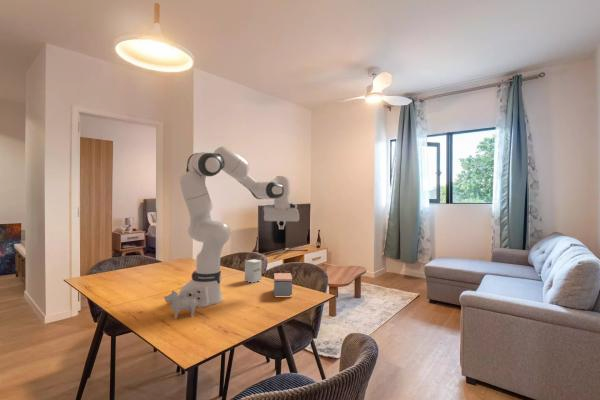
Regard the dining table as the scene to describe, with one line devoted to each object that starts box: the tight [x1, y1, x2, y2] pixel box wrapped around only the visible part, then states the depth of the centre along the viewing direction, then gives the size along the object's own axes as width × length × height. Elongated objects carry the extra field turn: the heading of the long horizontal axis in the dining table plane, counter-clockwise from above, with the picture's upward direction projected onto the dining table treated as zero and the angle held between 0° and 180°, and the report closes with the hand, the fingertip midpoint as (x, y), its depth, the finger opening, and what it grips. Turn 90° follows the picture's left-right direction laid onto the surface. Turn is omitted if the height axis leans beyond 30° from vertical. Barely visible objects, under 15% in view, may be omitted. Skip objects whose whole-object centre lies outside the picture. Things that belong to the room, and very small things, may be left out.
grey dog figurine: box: [163, 290, 197, 319], centre depth 127 cm, size 5×13×11 cm, turn 112°
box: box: [273, 280, 293, 297], centre depth 160 cm, size 9×13×8 cm
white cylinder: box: [244, 258, 263, 284], centre depth 182 cm, size 7×7×13 cm
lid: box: [273, 272, 293, 282], centre depth 160 cm, size 9×13×1 cm
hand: (281, 229), depth 172 cm, fingers closed
